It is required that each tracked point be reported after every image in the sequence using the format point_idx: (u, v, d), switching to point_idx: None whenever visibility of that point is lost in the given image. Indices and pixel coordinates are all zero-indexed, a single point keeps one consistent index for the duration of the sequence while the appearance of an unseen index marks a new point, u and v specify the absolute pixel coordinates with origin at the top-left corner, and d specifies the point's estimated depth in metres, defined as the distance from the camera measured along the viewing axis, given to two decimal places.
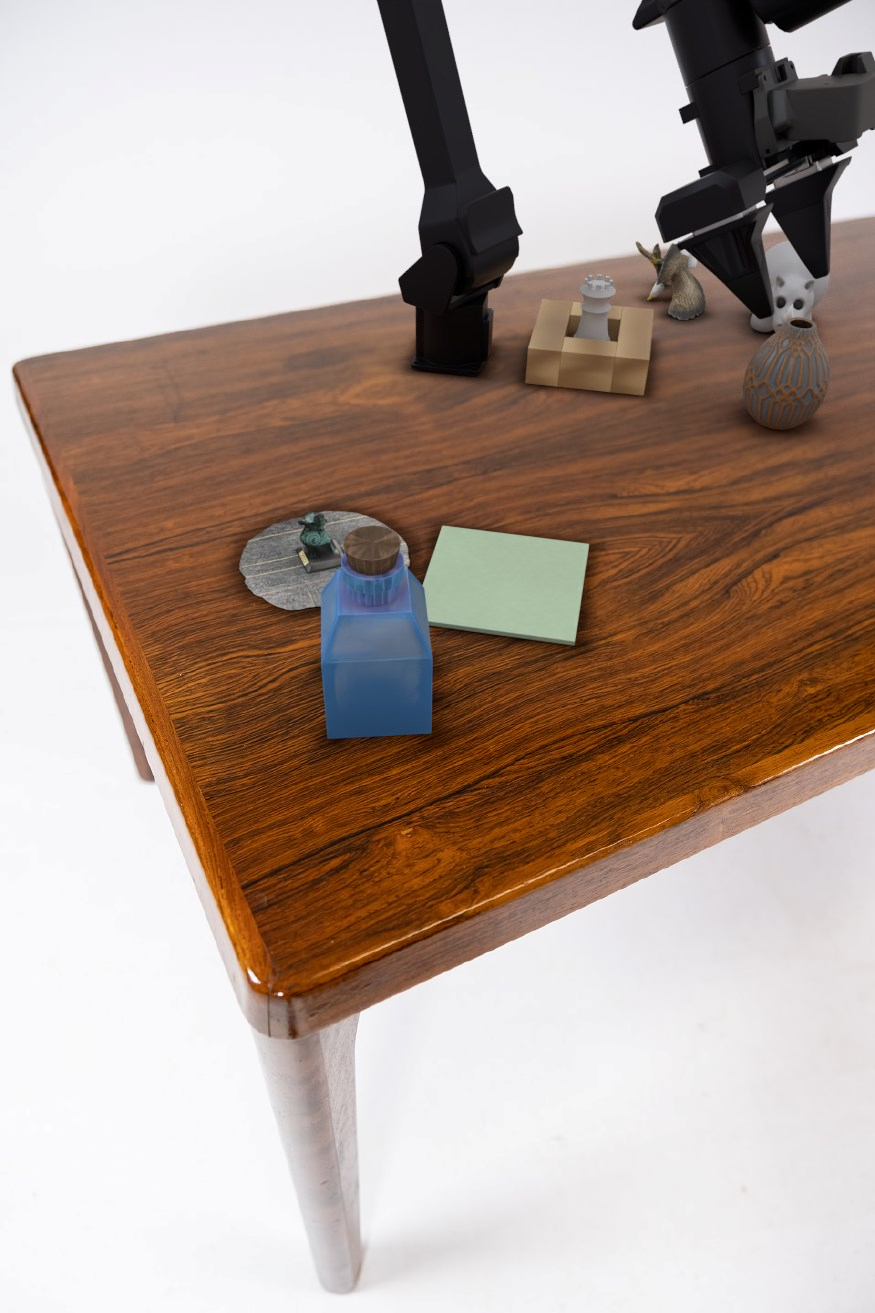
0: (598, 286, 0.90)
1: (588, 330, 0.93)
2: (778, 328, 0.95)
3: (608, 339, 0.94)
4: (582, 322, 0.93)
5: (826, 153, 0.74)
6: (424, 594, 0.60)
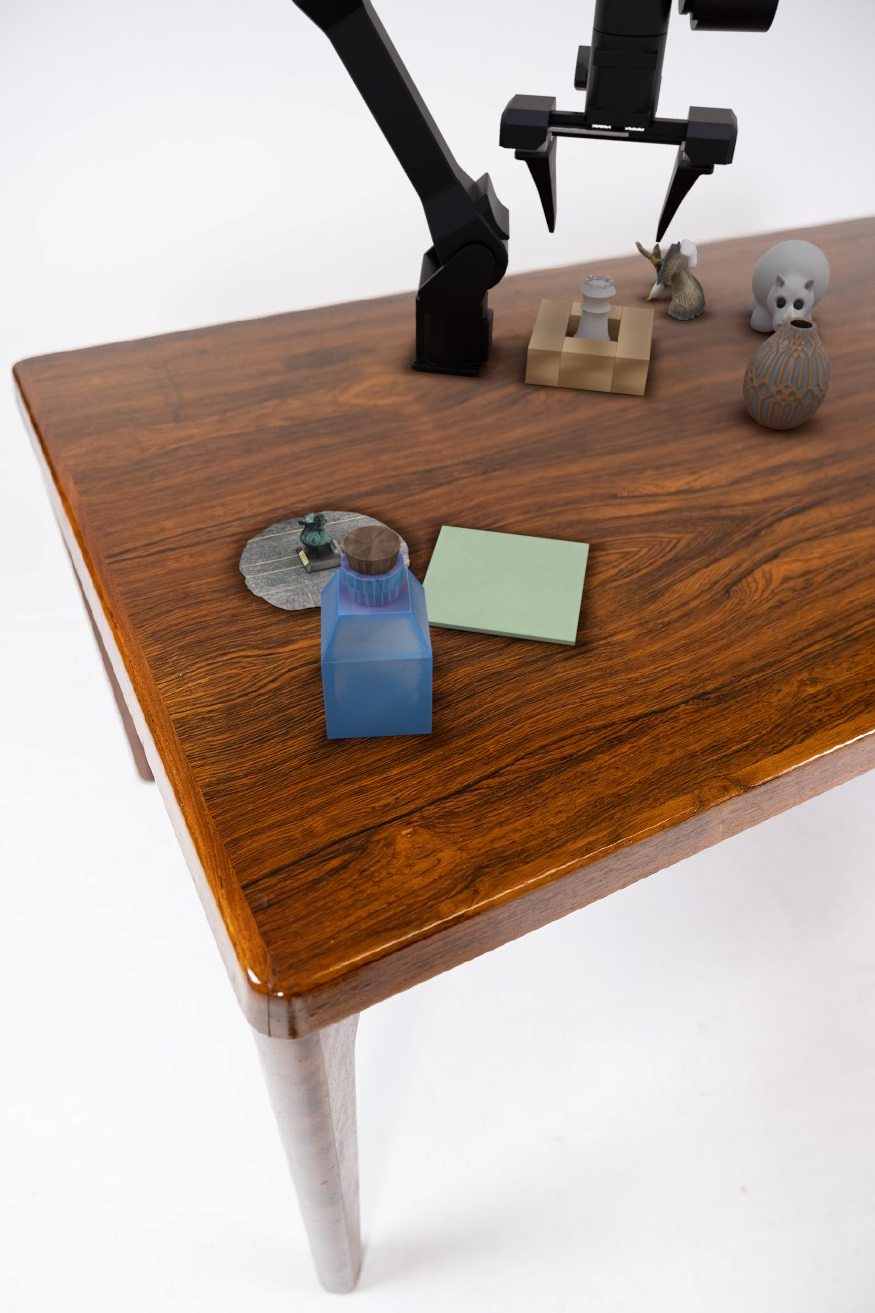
0: (598, 286, 0.90)
1: (588, 330, 0.93)
2: (778, 328, 0.95)
3: (608, 339, 0.94)
4: (582, 322, 0.93)
5: None
6: (424, 594, 0.60)
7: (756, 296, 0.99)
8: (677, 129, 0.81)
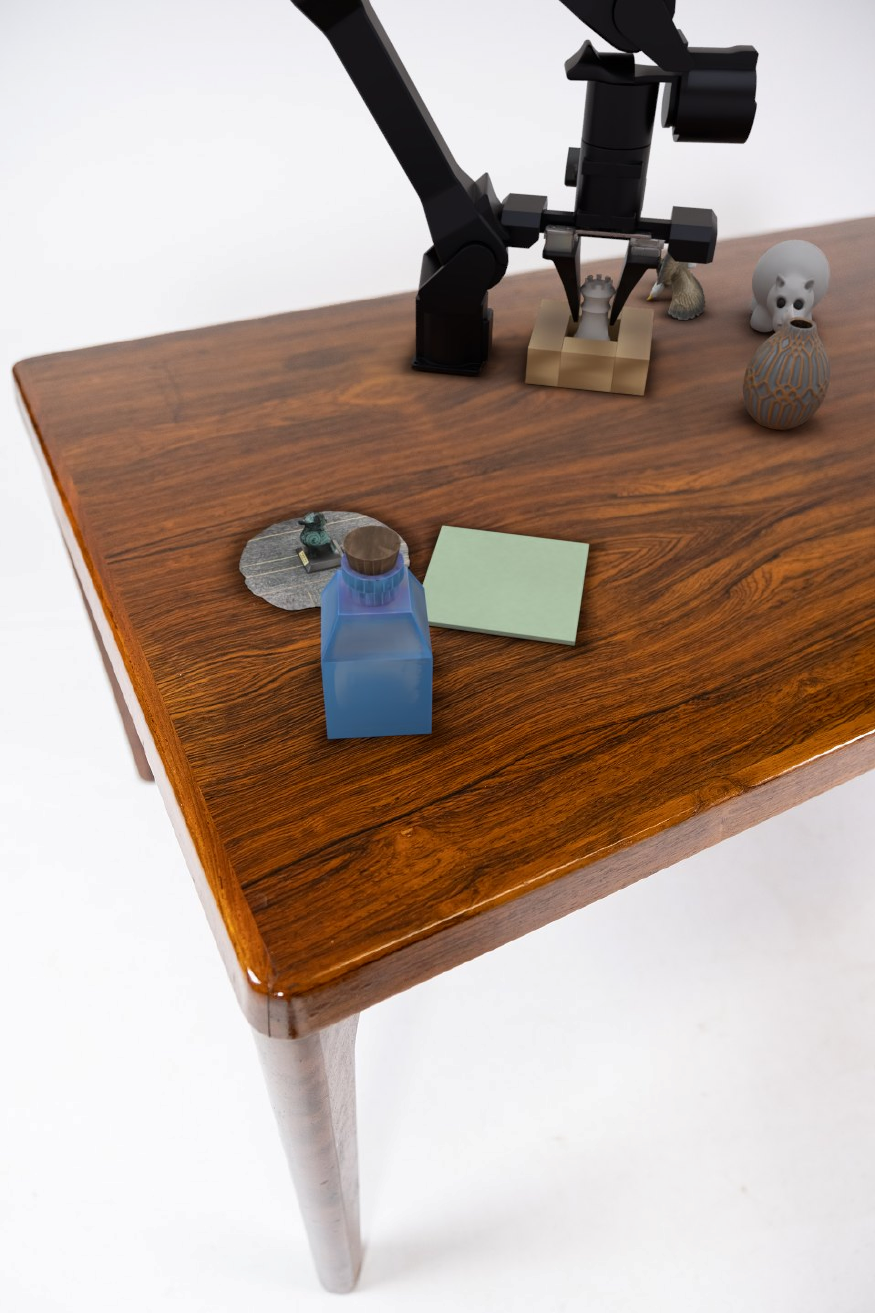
0: (598, 286, 0.90)
1: (588, 330, 0.93)
2: (778, 328, 0.95)
3: (608, 339, 0.94)
4: (582, 322, 0.93)
5: None
6: (424, 594, 0.60)
7: (756, 296, 0.99)
8: None
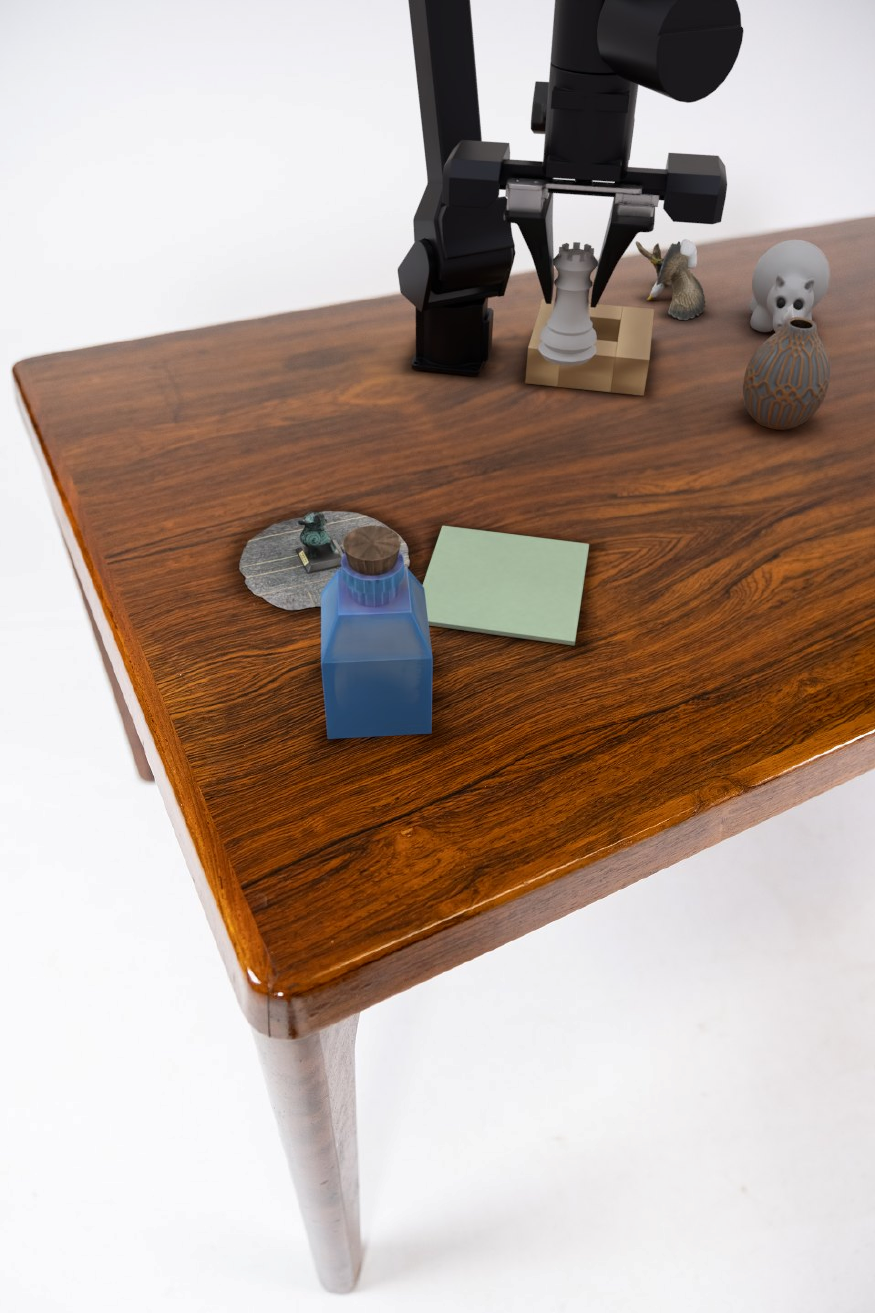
0: (576, 256, 0.71)
1: (564, 313, 0.74)
2: (778, 328, 0.95)
3: (590, 324, 0.75)
4: (556, 303, 0.74)
5: None
6: (424, 594, 0.60)
7: (756, 296, 0.99)
8: None
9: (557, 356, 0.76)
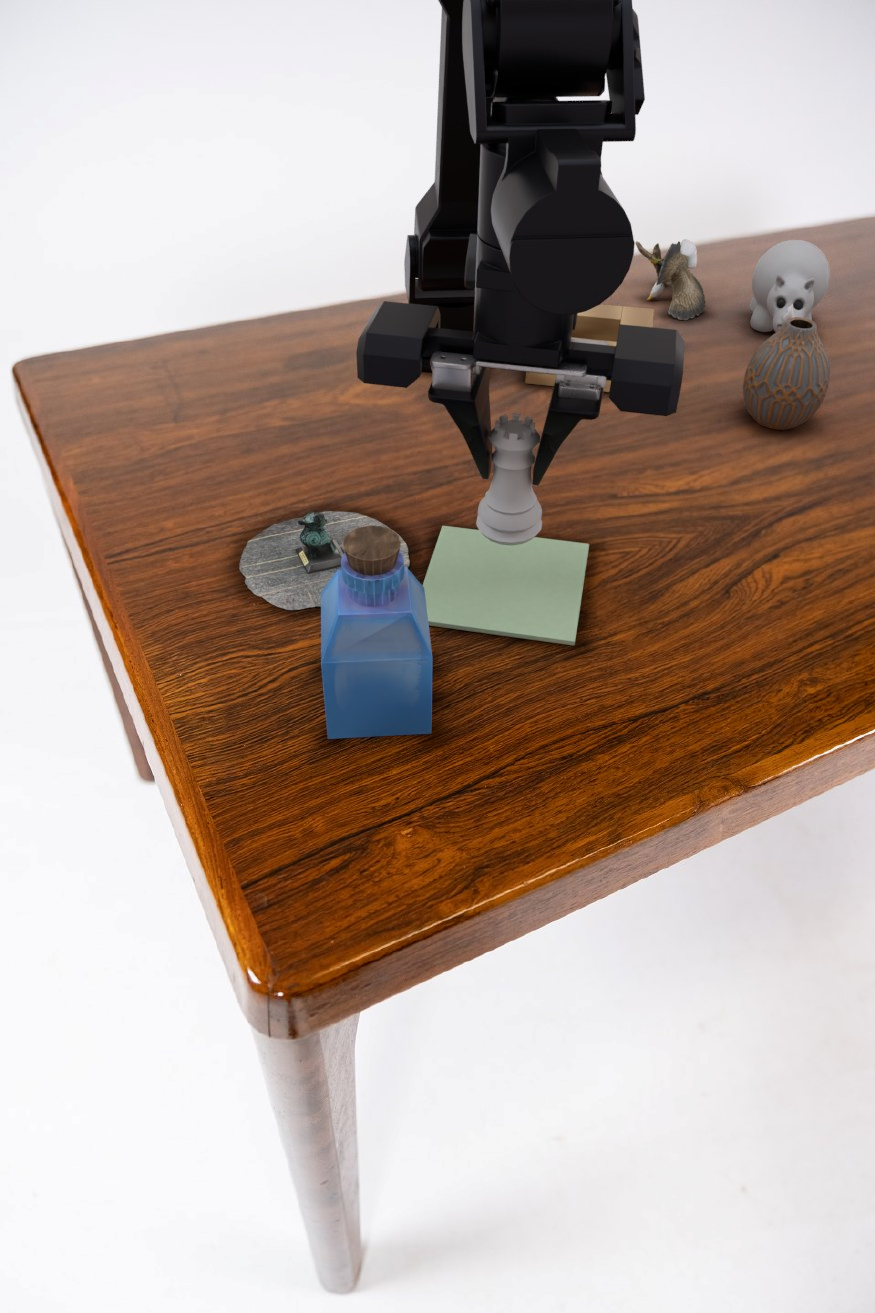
0: (513, 434, 0.62)
1: (503, 491, 0.65)
2: (778, 328, 0.95)
3: (533, 500, 0.66)
4: (494, 479, 0.65)
5: None
6: (424, 594, 0.60)
7: (756, 296, 0.99)
8: None
9: (496, 535, 0.67)
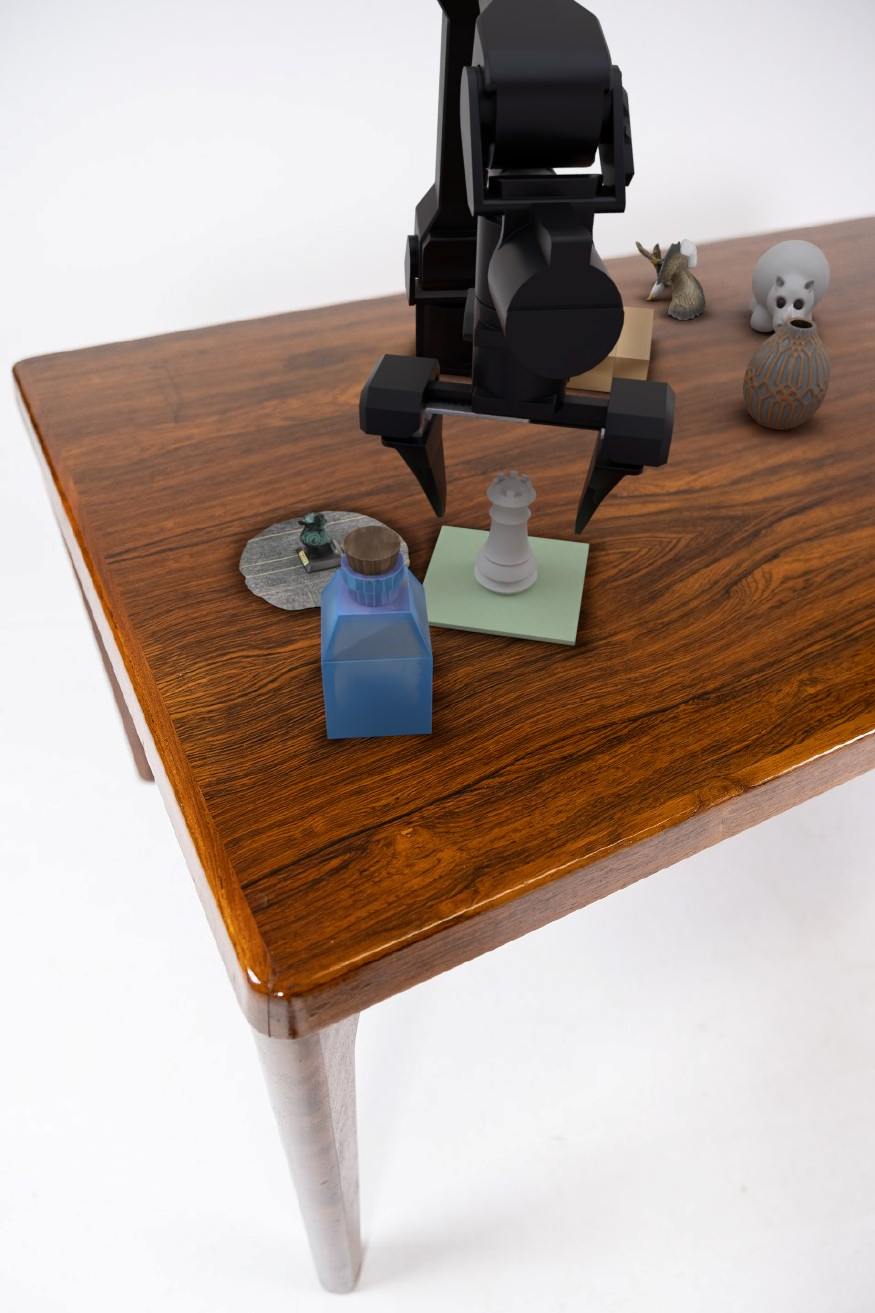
0: (510, 492, 0.65)
1: (500, 544, 0.68)
2: (778, 328, 0.95)
3: (529, 553, 0.69)
4: (492, 533, 0.68)
5: None
6: (424, 594, 0.60)
7: (756, 296, 0.99)
8: (594, 413, 0.61)
9: (493, 585, 0.69)
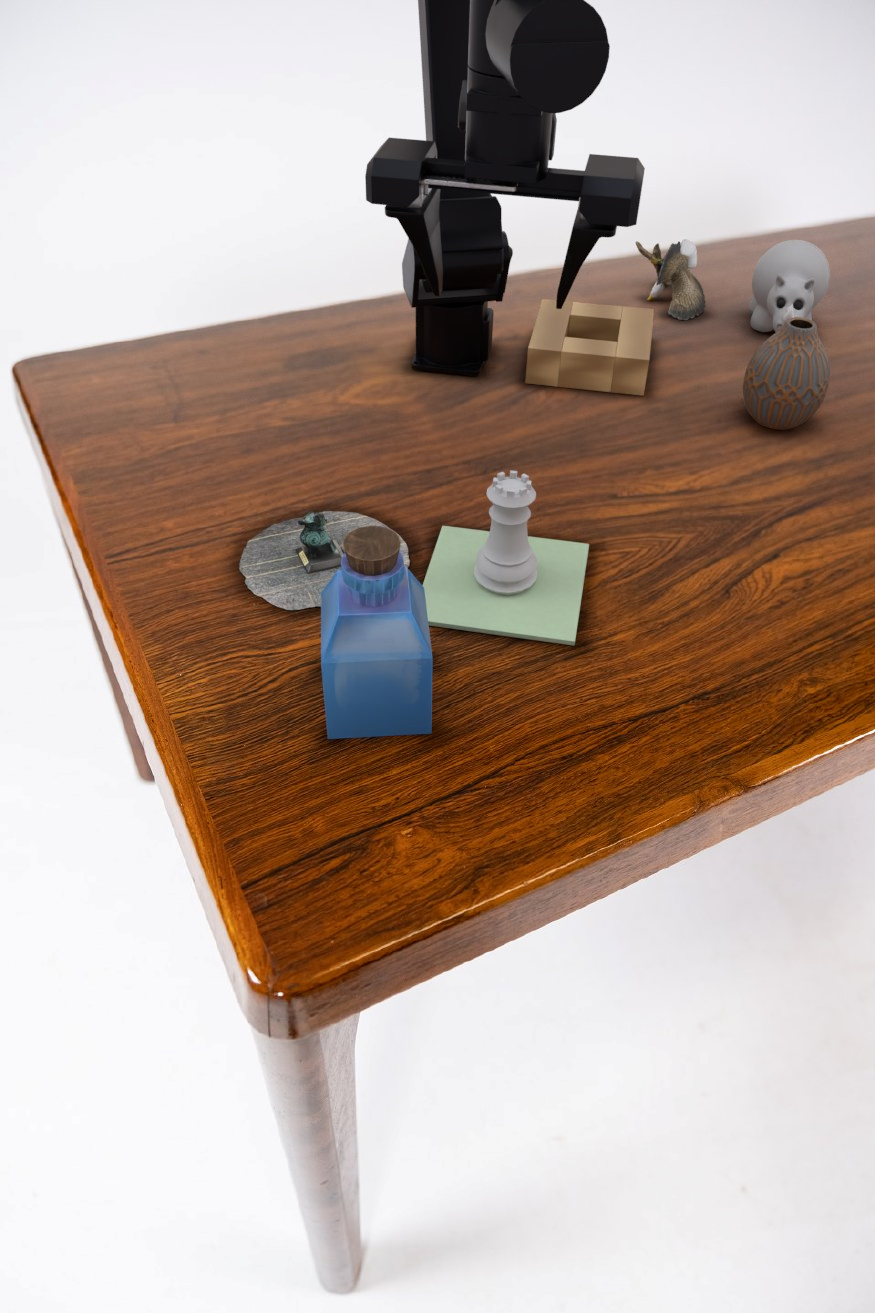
0: (510, 492, 0.65)
1: (500, 544, 0.68)
2: (778, 328, 0.95)
3: (529, 553, 0.69)
4: (492, 533, 0.68)
5: None
6: (424, 594, 0.60)
7: (756, 296, 0.99)
8: (573, 183, 0.69)
9: (493, 585, 0.69)
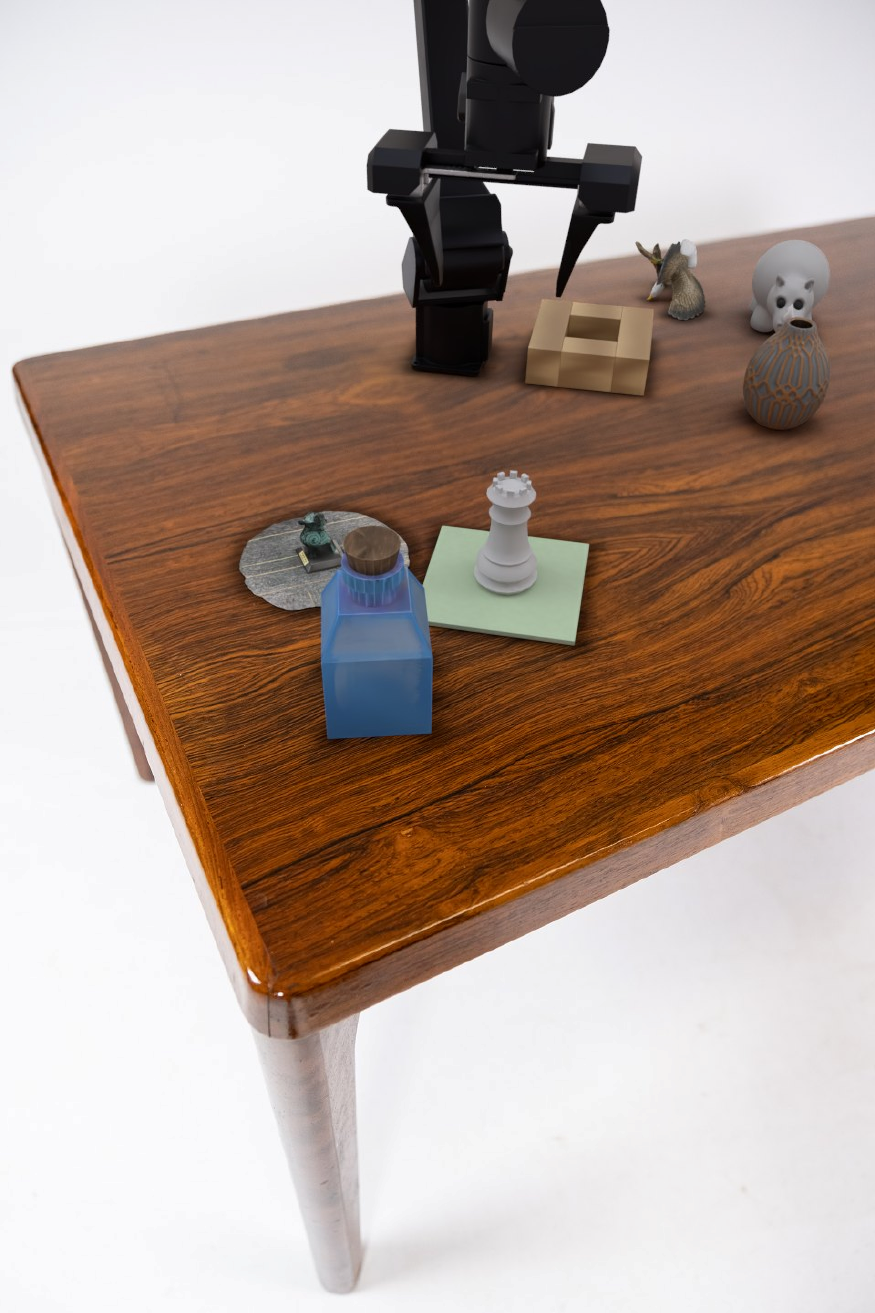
0: (510, 492, 0.65)
1: (500, 544, 0.68)
2: (778, 328, 0.95)
3: (529, 553, 0.69)
4: (492, 533, 0.68)
5: None
6: (424, 594, 0.60)
7: (756, 296, 0.99)
8: (572, 171, 0.70)
9: (493, 585, 0.69)
